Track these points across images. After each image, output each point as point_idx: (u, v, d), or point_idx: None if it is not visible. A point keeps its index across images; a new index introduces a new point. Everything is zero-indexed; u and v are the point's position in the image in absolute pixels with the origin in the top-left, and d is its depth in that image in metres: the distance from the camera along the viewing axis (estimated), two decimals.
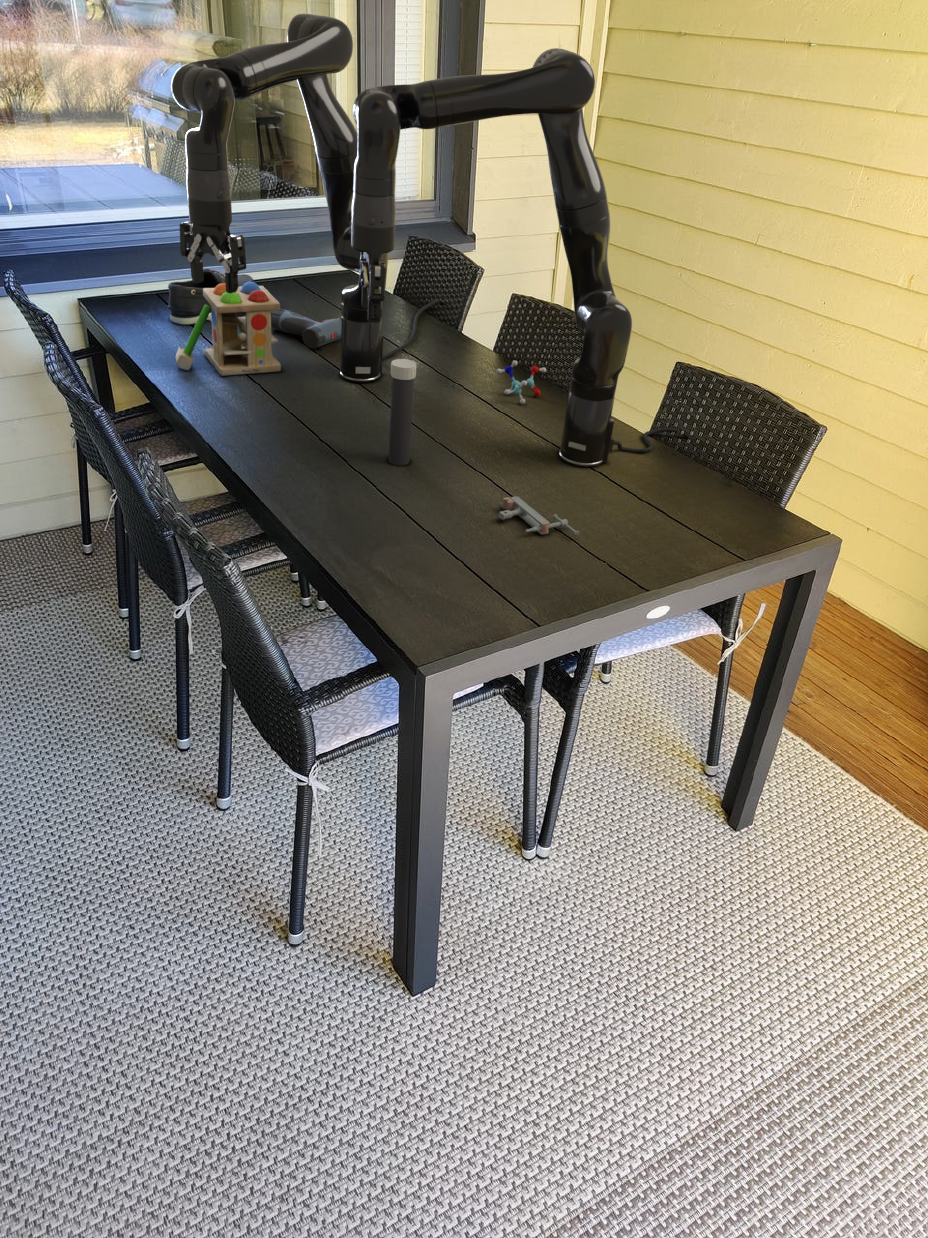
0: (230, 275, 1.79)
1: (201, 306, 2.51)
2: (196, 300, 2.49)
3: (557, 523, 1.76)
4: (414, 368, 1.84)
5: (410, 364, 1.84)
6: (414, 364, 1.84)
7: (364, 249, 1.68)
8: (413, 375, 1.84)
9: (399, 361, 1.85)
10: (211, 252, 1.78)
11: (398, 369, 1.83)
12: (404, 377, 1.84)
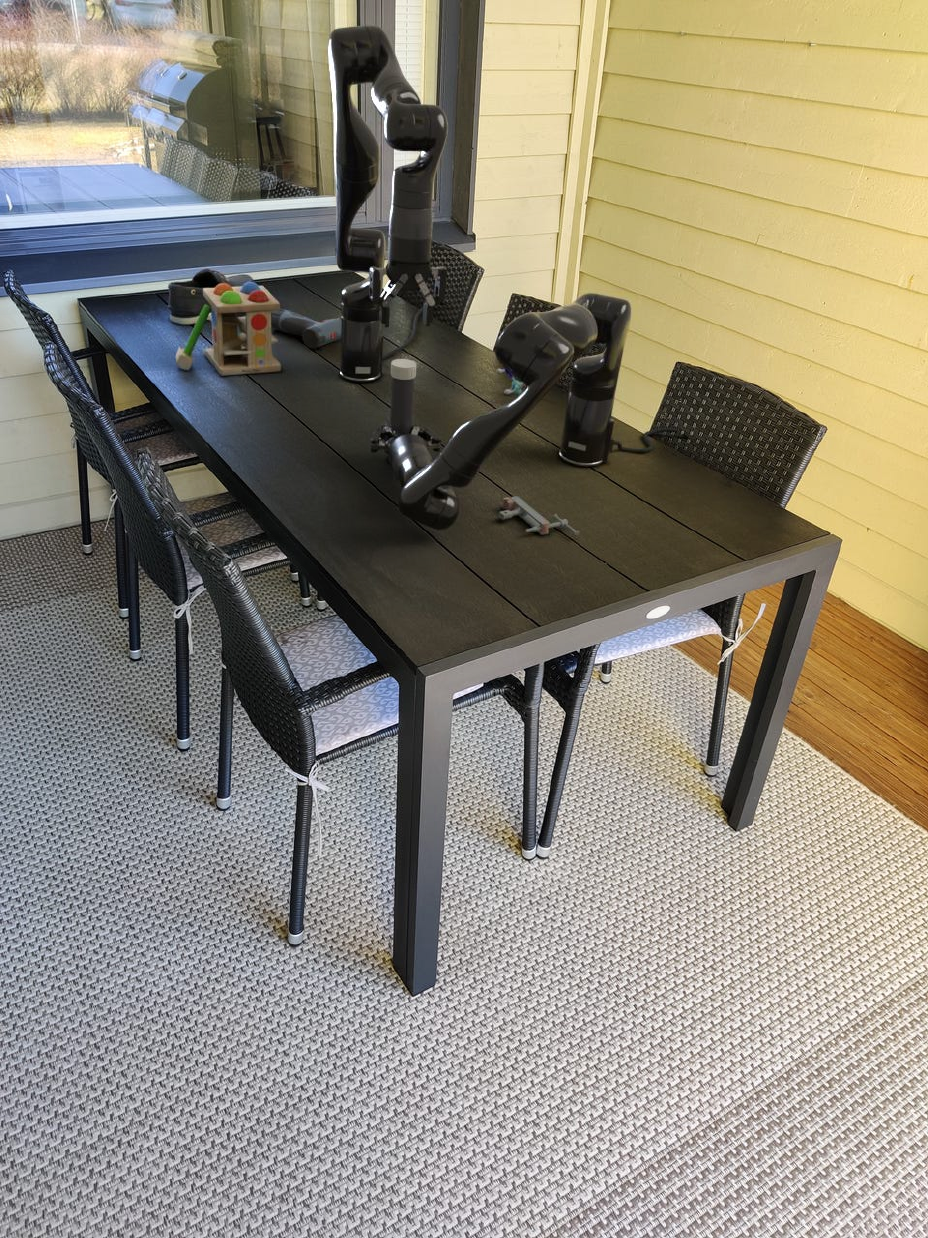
0: (431, 308, 1.79)
1: (201, 306, 2.51)
2: (196, 300, 2.49)
3: (557, 523, 1.76)
4: (414, 368, 1.84)
5: (410, 364, 1.84)
6: (414, 364, 1.84)
7: None
8: (413, 375, 1.84)
9: (399, 361, 1.85)
10: (413, 289, 1.76)
11: (398, 369, 1.83)
12: (404, 377, 1.84)
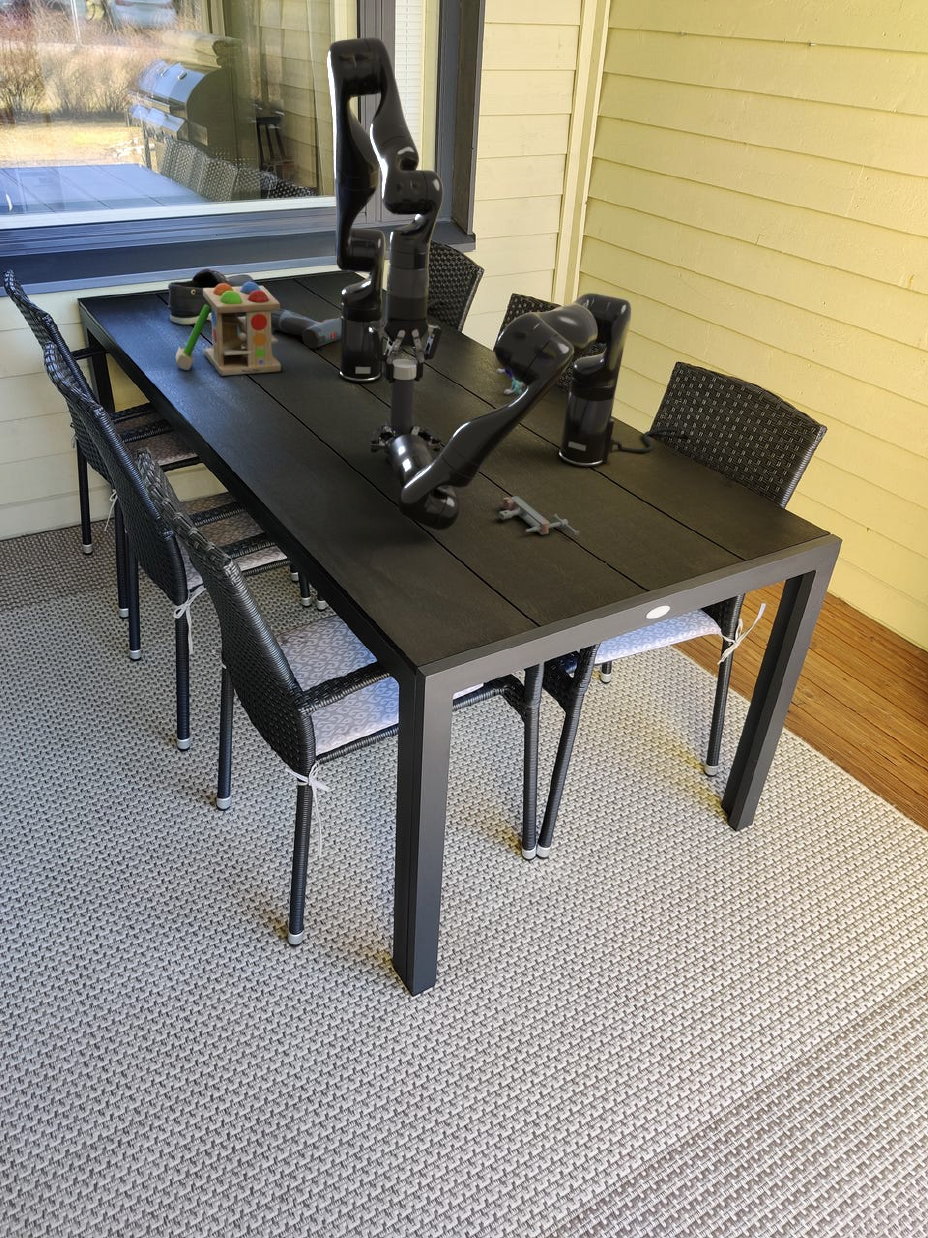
0: (421, 364, 1.85)
1: (201, 306, 2.51)
2: (196, 300, 2.49)
3: (557, 523, 1.76)
4: (414, 368, 1.84)
5: (410, 364, 1.84)
6: (414, 364, 1.84)
7: None
8: (413, 375, 1.84)
9: (399, 361, 1.85)
10: (410, 344, 1.81)
11: (398, 369, 1.83)
12: (404, 377, 1.84)
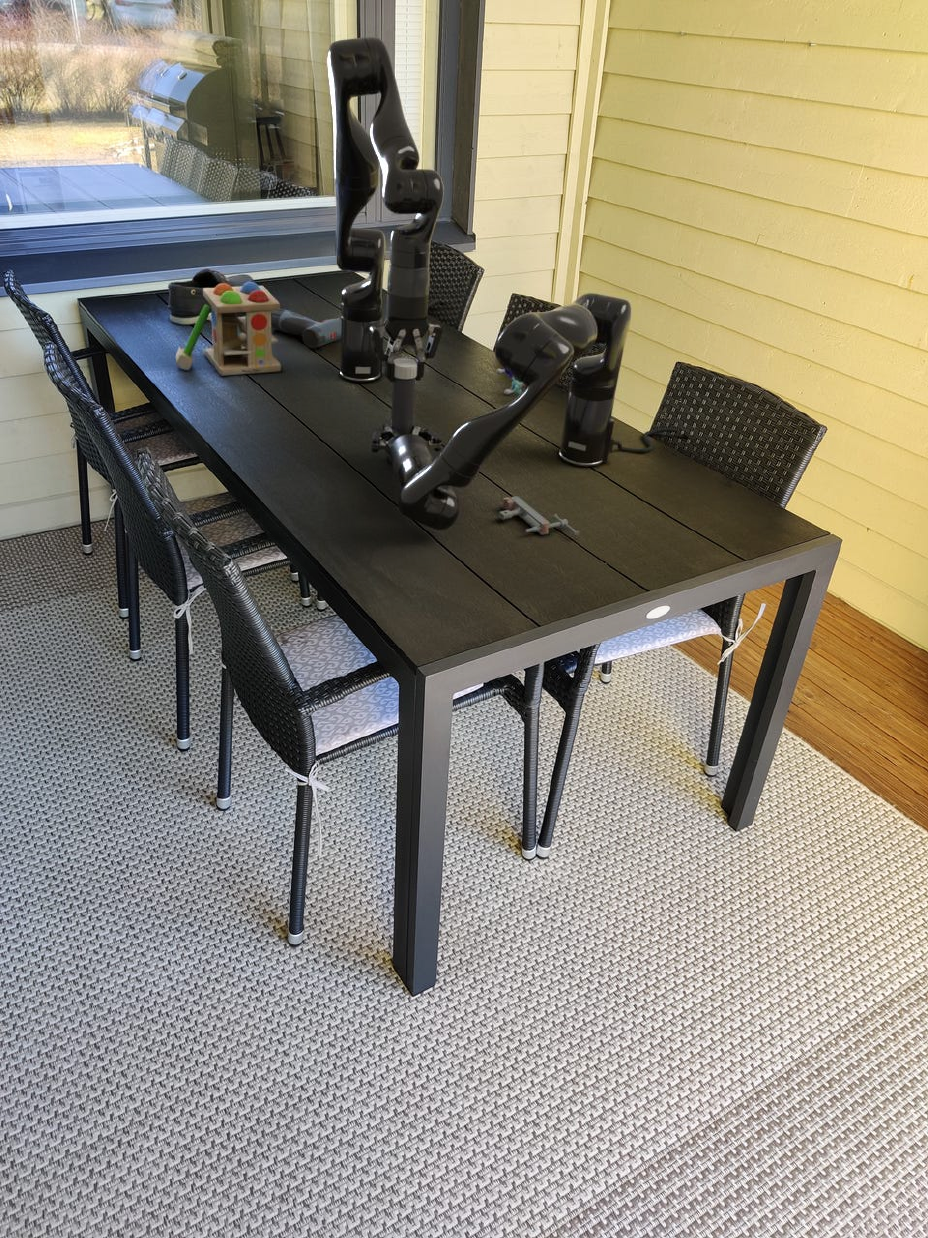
0: (422, 364, 1.85)
1: (201, 306, 2.51)
2: (196, 300, 2.49)
3: (557, 523, 1.76)
4: None
5: (405, 360, 1.85)
6: (403, 358, 1.86)
7: None
8: None
9: (401, 364, 1.83)
10: (411, 343, 1.81)
11: (416, 367, 1.84)
12: None
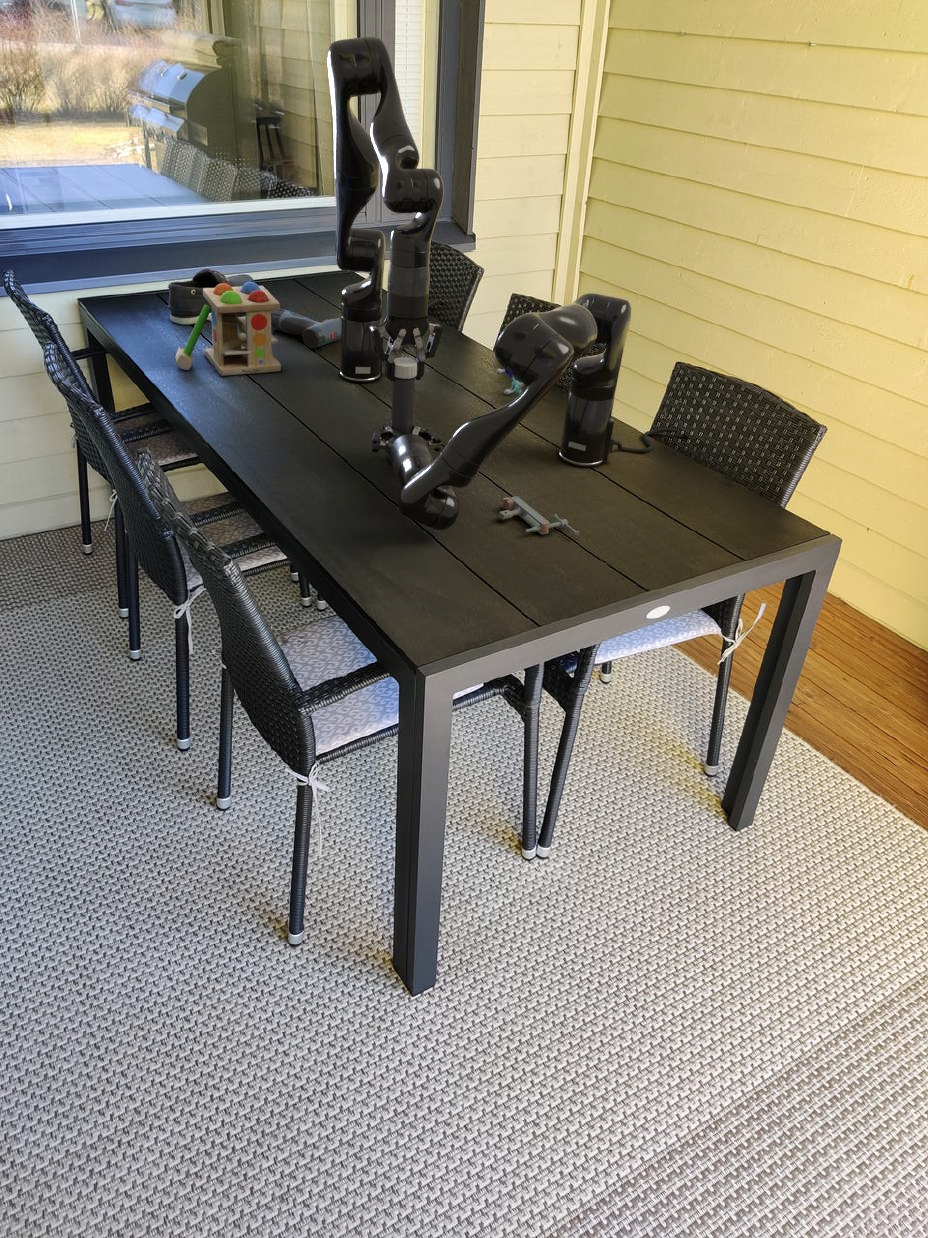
0: (422, 363, 1.85)
1: (201, 306, 2.51)
2: (196, 300, 2.49)
3: (557, 523, 1.76)
4: None
5: (397, 361, 1.84)
6: (394, 362, 1.84)
7: None
8: None
9: (410, 362, 1.84)
10: (411, 342, 1.81)
11: None
12: None
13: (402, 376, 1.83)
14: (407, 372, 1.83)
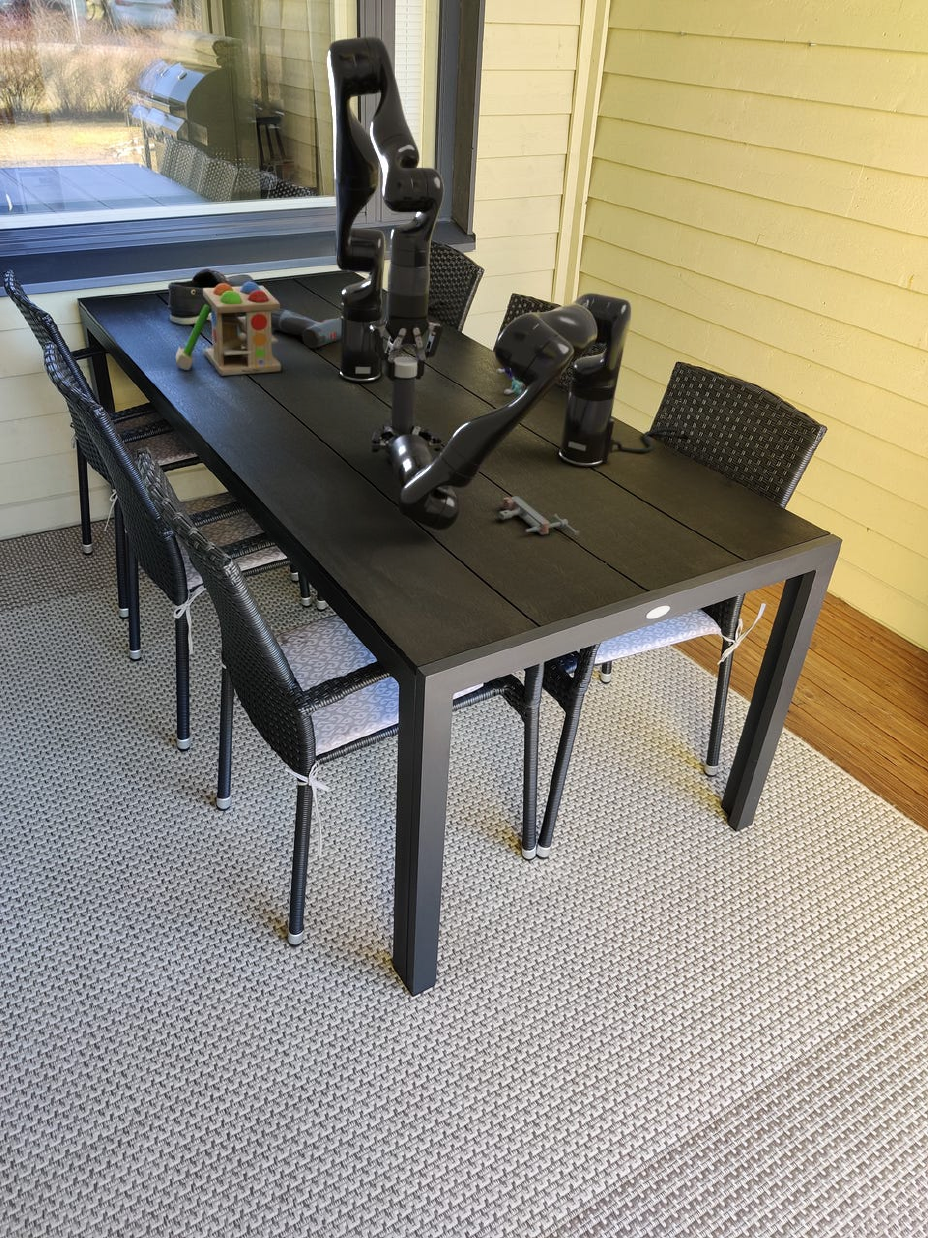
0: (422, 362, 1.85)
1: (201, 306, 2.51)
2: (196, 300, 2.49)
3: (557, 523, 1.76)
4: (406, 368, 1.83)
5: (407, 363, 1.83)
6: (410, 364, 1.83)
7: None
8: (404, 374, 1.83)
9: (405, 358, 1.85)
10: (411, 341, 1.81)
11: None
12: (395, 373, 1.84)
13: None
14: None
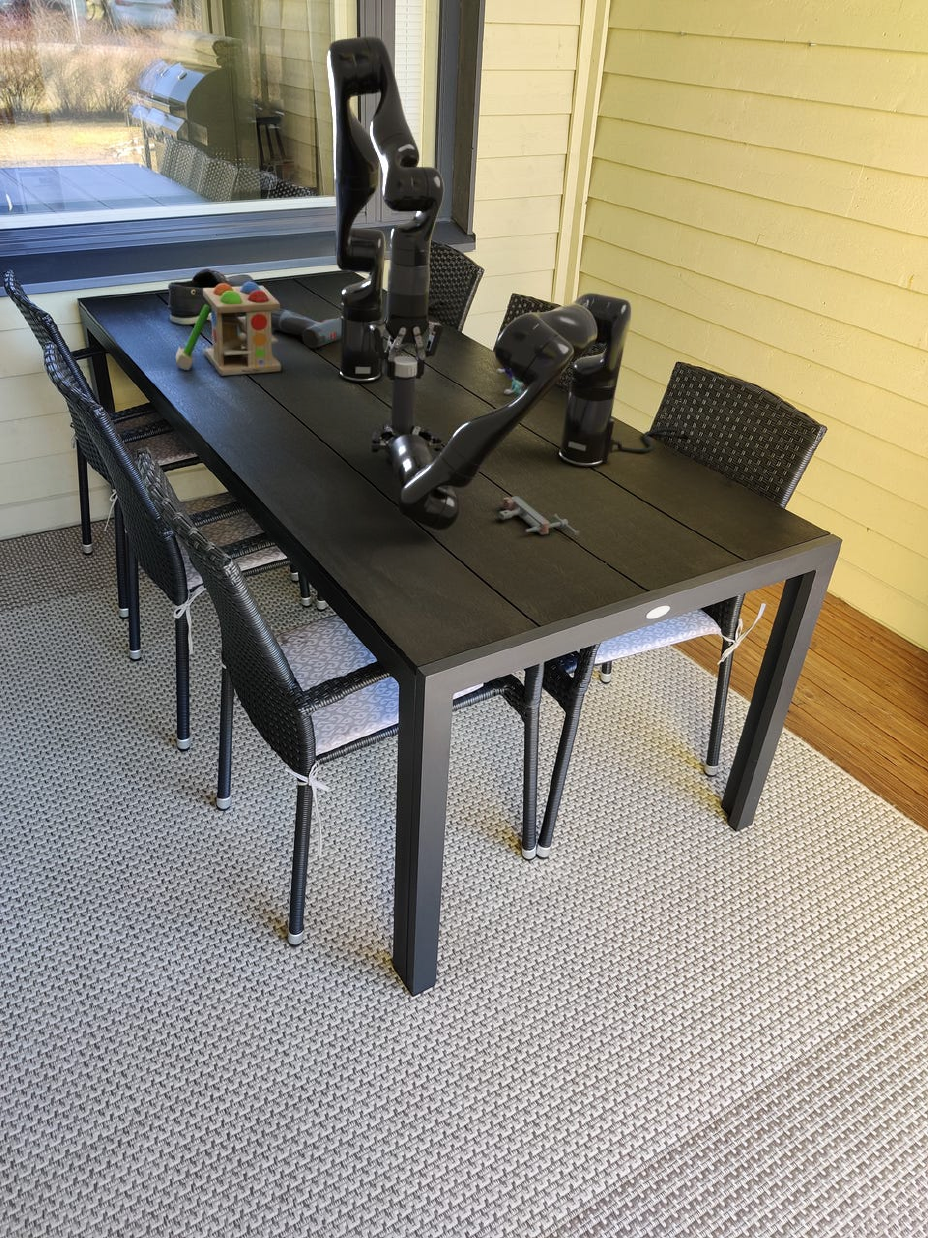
0: (422, 362, 1.85)
1: (201, 306, 2.51)
2: (196, 300, 2.49)
3: (557, 523, 1.76)
4: None
5: (410, 359, 1.85)
6: (412, 358, 1.85)
7: None
8: None
9: (398, 360, 1.84)
10: (411, 341, 1.81)
11: (410, 367, 1.83)
12: (414, 373, 1.84)
13: None
14: None
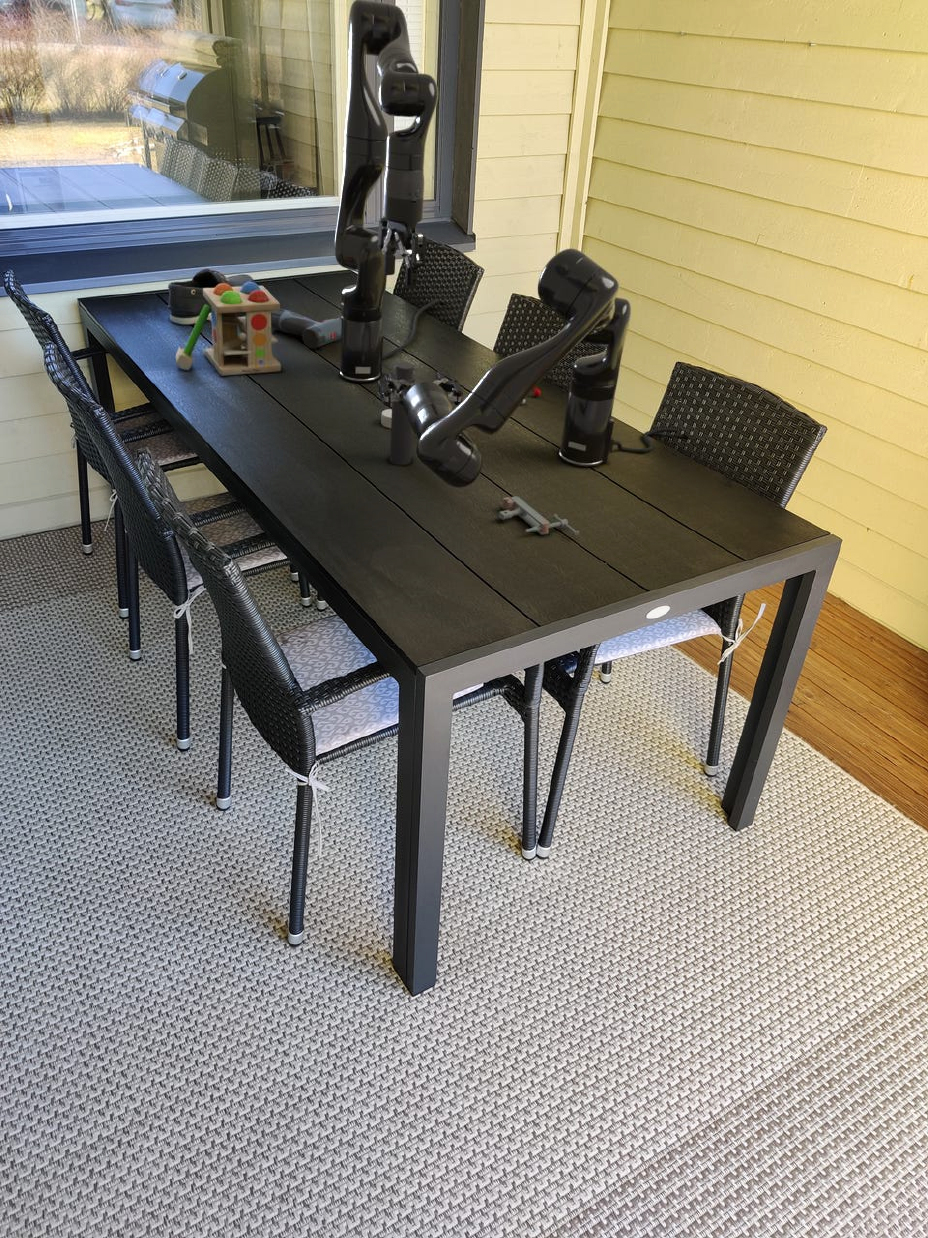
0: None
1: (201, 306, 2.51)
2: (196, 300, 2.49)
3: (557, 523, 1.76)
4: None
5: (388, 411, 2.10)
6: (385, 410, 2.10)
7: None
8: None
9: None
10: None
11: None
12: None
13: (382, 423, 2.09)
14: (385, 421, 2.08)
